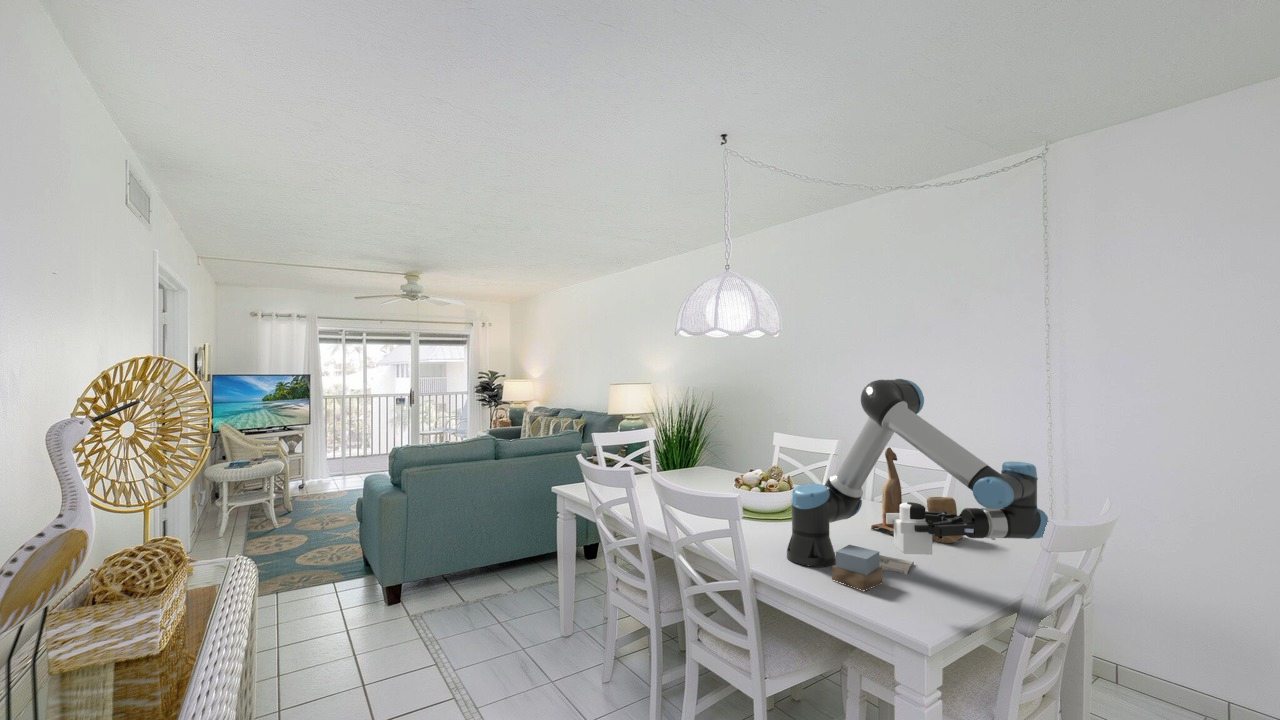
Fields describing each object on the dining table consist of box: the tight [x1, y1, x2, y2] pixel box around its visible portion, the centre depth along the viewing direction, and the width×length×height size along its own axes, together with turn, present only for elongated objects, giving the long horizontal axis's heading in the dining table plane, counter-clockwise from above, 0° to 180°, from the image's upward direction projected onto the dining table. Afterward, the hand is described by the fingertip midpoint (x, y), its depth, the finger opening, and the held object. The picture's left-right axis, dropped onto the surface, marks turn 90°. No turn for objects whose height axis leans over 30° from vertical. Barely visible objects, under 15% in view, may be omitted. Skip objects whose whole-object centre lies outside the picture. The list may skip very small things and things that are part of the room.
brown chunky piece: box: [926, 496, 965, 544], centre depth 203 cm, size 15×12×15 cm
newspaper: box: [835, 547, 915, 575], centre depth 179 cm, size 23×12×2 cm, turn 54°
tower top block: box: [835, 544, 880, 575], centre depth 162 cm, size 9×9×4 cm
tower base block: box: [831, 564, 884, 591], centre depth 162 cm, size 10×10×4 cm
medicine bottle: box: [893, 501, 933, 556], centre depth 145 cm, size 7×7×12 cm
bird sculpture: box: [870, 446, 903, 536], centre depth 212 cm, size 11×12×32 cm
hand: (893, 522), depth 145 cm, fingers closed on medicine bottle, 7 cm apart
